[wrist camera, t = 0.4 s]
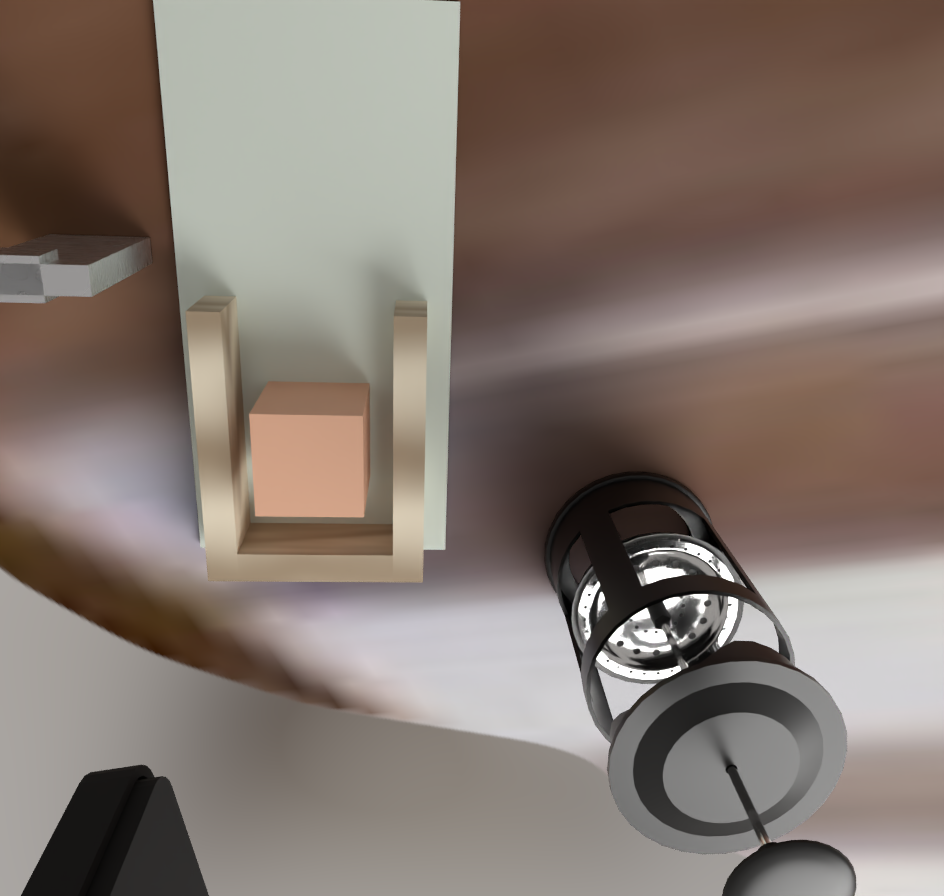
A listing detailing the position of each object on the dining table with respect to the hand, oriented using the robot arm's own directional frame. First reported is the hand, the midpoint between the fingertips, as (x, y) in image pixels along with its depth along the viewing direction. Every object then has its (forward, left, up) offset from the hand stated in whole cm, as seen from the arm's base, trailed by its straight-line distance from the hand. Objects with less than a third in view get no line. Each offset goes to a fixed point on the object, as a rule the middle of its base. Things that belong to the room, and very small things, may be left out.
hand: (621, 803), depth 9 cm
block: (+8, -7, -35) cm, 36 cm away
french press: (+16, +10, -35) cm, 40 cm away
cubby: (+9, -7, -35) cm, 36 cm away
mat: (+2, -7, -35) cm, 36 cm away
